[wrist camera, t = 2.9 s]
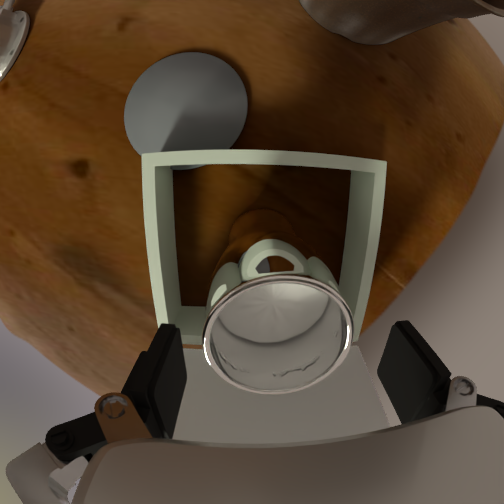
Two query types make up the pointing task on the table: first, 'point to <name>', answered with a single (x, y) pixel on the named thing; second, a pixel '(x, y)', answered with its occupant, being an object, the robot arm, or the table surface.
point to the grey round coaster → (186, 106)
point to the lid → (278, 407)
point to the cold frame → (161, 176)
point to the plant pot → (392, 16)
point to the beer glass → (273, 310)
